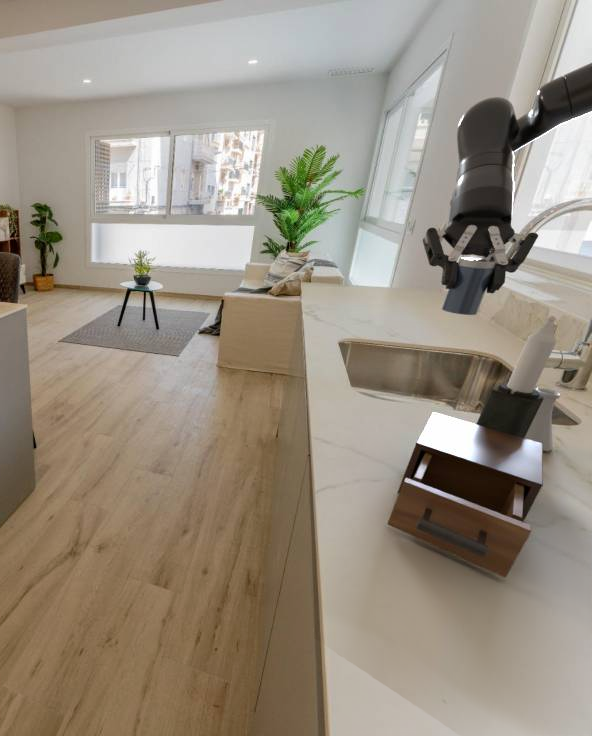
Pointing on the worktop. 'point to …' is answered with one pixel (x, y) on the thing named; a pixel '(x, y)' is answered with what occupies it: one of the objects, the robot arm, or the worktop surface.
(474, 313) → the blue tumbler
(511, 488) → the drawer
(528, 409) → the candle
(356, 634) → the worktop surface
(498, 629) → the worktop surface
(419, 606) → the worktop surface
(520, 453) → the cabinet
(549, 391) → the flask
